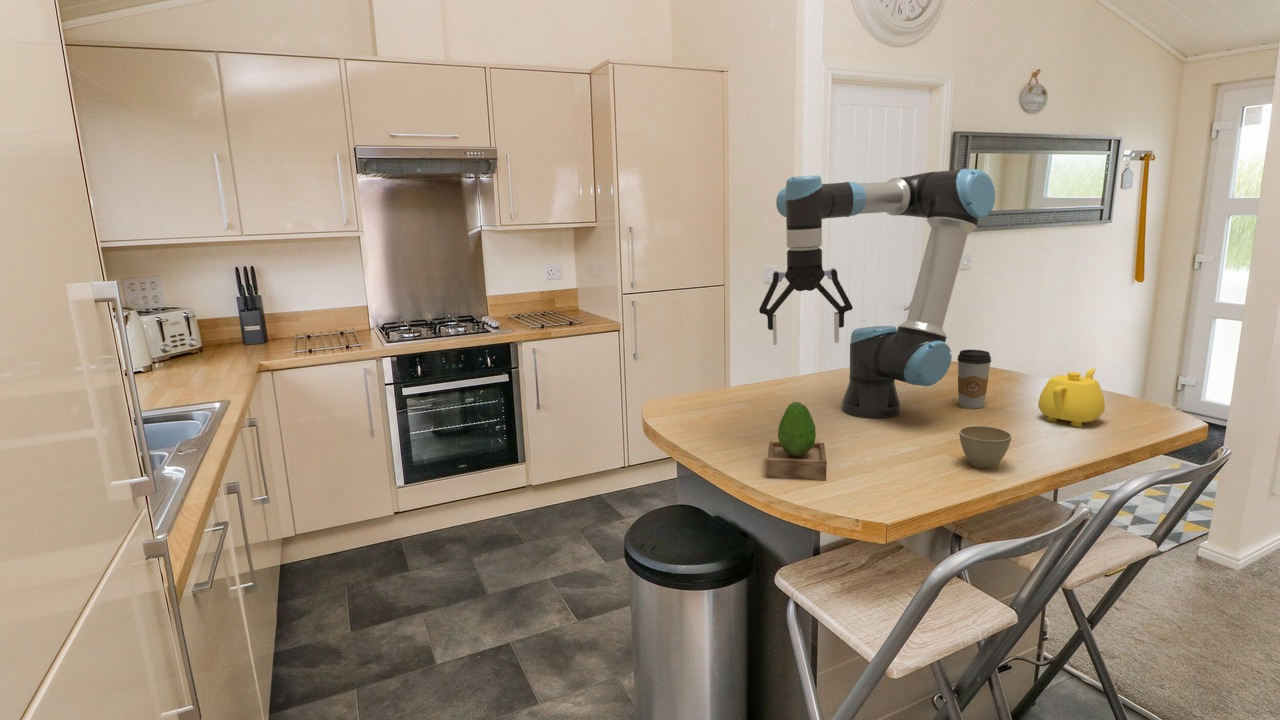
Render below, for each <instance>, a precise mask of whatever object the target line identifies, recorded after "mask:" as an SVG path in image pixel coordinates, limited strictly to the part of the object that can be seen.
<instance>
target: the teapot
mask: <svg viewBox="0 0 1280 720" xmlns="http://www.w3.org/2000/svg"><path fill="white" fill-rule="evenodd" d="M1096 370H1097V369H1096V368H1094V367H1093V368H1090V369H1088V370H1087V371H1086V374H1085V375H1084V376H1081V375H1082V374H1081V373H1080V372H1076V371H1075V372H1074V371H1068V372H1067V374H1061V375H1056V376H1052V377H1051V378H1049V380H1048V381H1047V382H1046V384H1045V386H1044V387H1043V389H1042V391H1041V392H1040V395H1039V399H1038V404H1037V406H1038V408H1039V411H1040V413H1041V414H1042V415H1044V416H1047V417H1046V418H1045V421H1047V422H1051V423H1052V422H1053V423H1055V422H1057V421H1058V420H1063V421H1068V422H1069V421H1070V426H1071V427H1074V428H1083V423H1095V420H1098V419H1099V418H1100V417H1101V416H1102V415H1103V414H1104V412H1105V406H1106V405H1105V404H1106V403H1105V396H1104V392H1103V390H1102V387H1101V386H1100V384H1099V381H1098V380H1096V379H1093V378H1094V374H1095V372H1096Z"/></svg>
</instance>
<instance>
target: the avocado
mask: <svg viewBox="0 0 1280 720" xmlns="http://www.w3.org/2000/svg"><path fill="white" fill-rule="evenodd" d="M777 430H778V431H777V438H778V441H779V442H780V445H781V447H782V448H783V449H784V451H785V452H786V453H787V454H789V455H791V456H802V455H804V454H806V453H807V452H809V450H810V449H811V448H812V447H813V445H814V443H815V442H816V436H817V434H816V425H815V422H814V420H813V417H812V415H811V413H810V411H809V409H808V407H807V406H806V405H805V404H803V403H802V402H799V401H794V402H792V403H790V404H789V405H788V406H787V408H786V409H785V411H784V413H783V415H782V418H781V420H780V422H779V425H778V428H777Z"/></svg>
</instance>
